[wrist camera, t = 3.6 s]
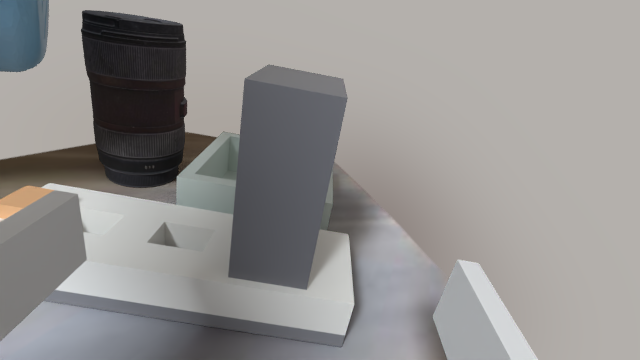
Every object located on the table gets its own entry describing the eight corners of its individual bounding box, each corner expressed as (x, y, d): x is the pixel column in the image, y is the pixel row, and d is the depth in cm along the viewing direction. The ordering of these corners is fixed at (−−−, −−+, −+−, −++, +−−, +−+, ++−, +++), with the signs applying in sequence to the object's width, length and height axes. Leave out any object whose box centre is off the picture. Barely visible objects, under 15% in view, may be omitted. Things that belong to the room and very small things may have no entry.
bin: (176, 231, 27) (176, 176, 25) (220, 173, 38) (223, 131, 36) (321, 255, 28) (332, 203, 26) (324, 191, 39) (332, 151, 37)
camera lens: (137, 152, 39) (130, 11, 33) (199, 169, 38) (204, 27, 32) (75, 176, 32) (52, 3, 26) (149, 199, 31) (142, 22, 25)
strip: (-35, 288, 19) (-57, 222, 17) (56, 223, 26) (47, 170, 24) (341, 347, 20) (358, 290, 18) (339, 270, 27) (351, 222, 25)
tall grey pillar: (225, 307, 20) (244, 78, 14) (248, 247, 25) (268, 64, 20) (300, 319, 20) (347, 98, 15) (307, 256, 26) (343, 78, 20)
